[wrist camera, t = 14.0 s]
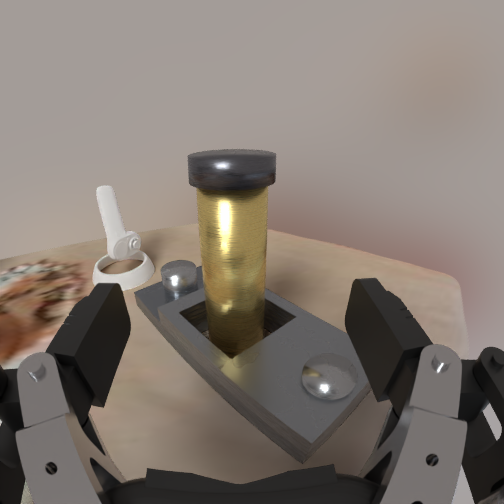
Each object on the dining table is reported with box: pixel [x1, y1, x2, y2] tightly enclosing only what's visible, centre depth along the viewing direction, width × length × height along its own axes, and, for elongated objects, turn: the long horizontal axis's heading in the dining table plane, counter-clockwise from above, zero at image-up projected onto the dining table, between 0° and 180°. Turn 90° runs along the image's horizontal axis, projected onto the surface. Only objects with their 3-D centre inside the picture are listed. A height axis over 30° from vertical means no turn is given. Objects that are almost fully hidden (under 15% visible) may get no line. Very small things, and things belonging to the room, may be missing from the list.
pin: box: [188, 149, 276, 359], centre depth 18 cm, size 5×5×14 cm
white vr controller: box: [93, 186, 155, 291], centre depth 31 cm, size 8×12×7 cm
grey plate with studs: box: [134, 260, 371, 464], centre depth 20 cm, size 20×8×3 cm, turn 43°
